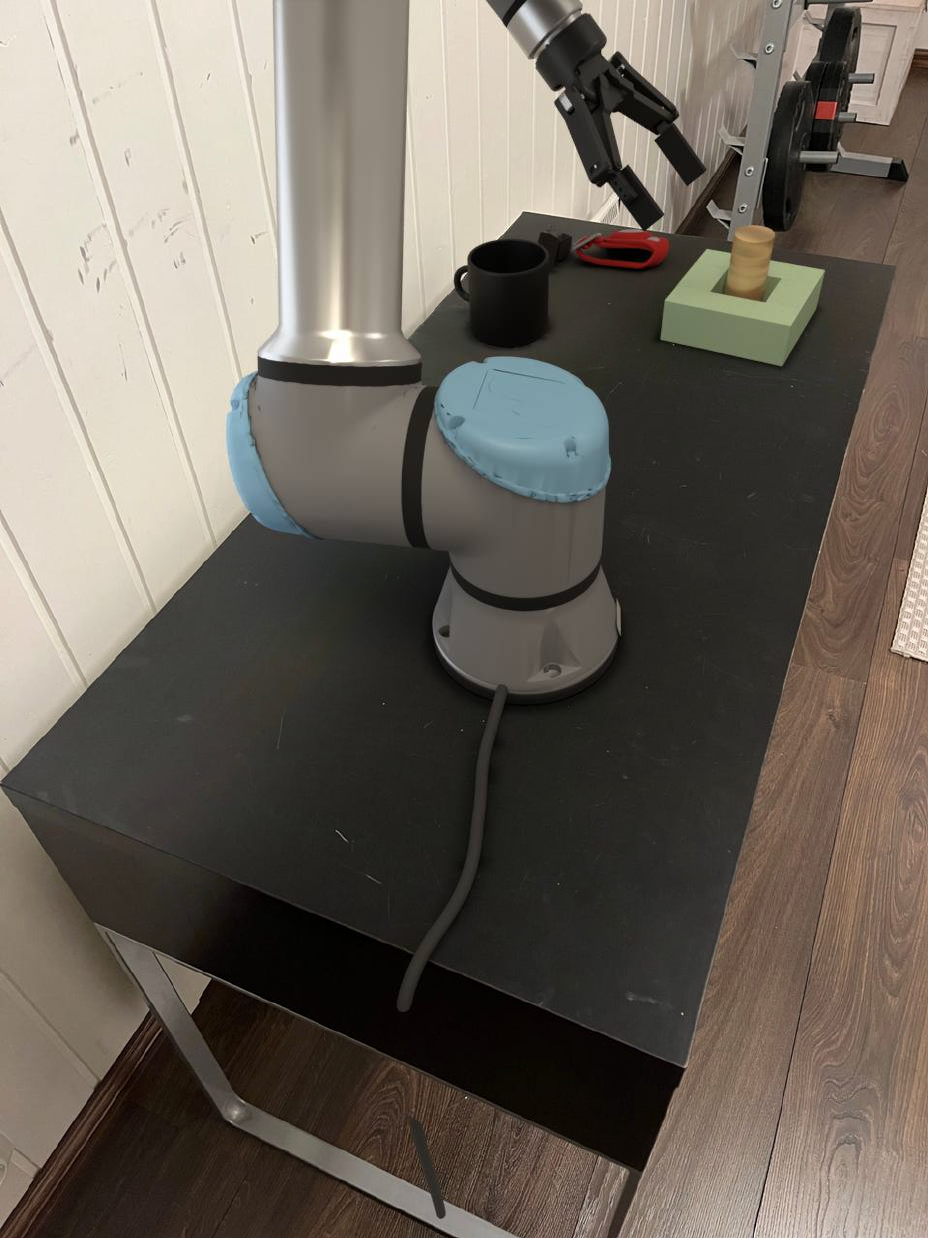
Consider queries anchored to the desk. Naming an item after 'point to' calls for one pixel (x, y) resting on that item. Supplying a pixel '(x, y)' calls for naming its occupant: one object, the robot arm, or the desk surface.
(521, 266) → the mug
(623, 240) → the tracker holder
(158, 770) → the desk surface
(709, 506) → the desk surface
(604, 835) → the desk surface
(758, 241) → the tan cylinder
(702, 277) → the holder
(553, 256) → the lighter
